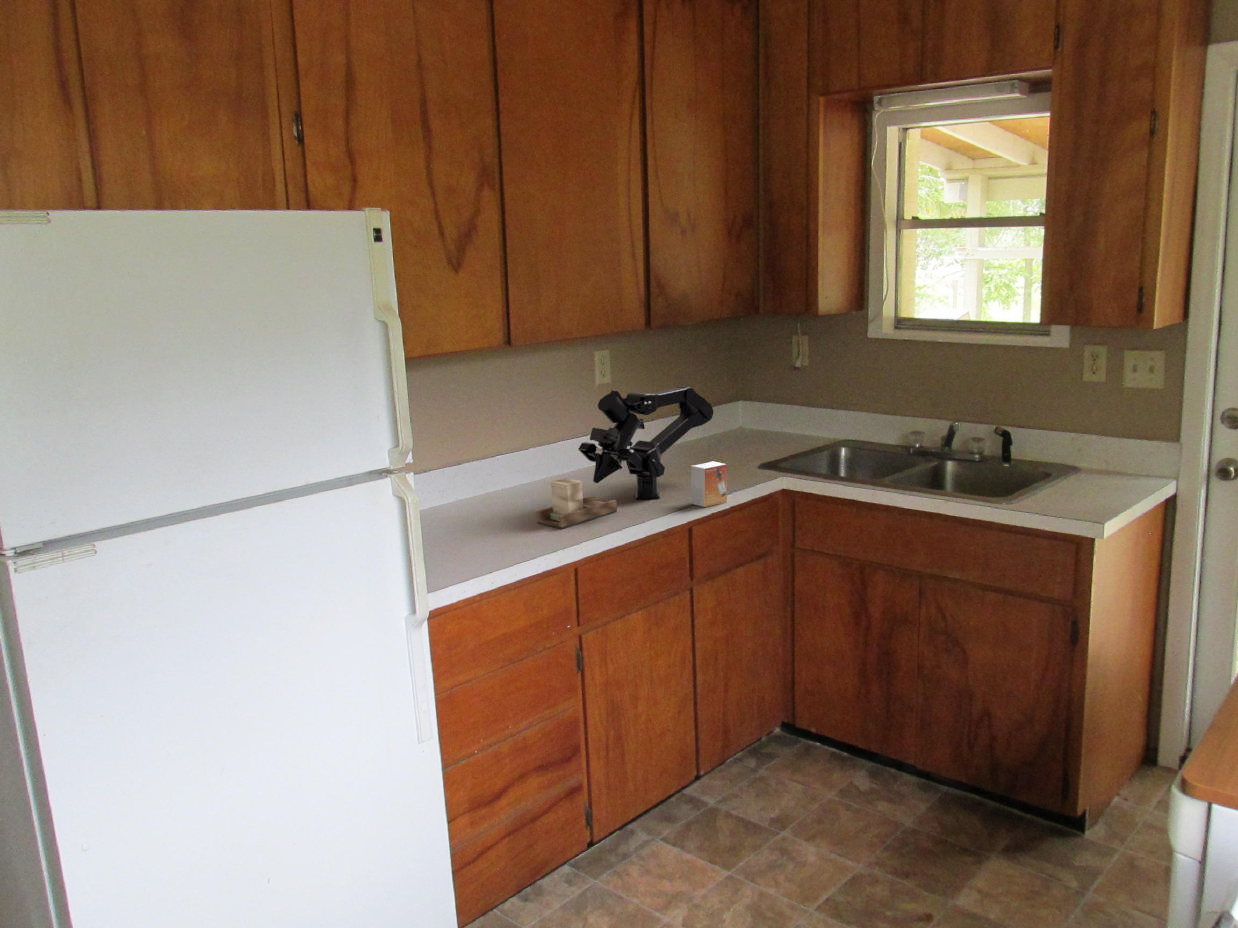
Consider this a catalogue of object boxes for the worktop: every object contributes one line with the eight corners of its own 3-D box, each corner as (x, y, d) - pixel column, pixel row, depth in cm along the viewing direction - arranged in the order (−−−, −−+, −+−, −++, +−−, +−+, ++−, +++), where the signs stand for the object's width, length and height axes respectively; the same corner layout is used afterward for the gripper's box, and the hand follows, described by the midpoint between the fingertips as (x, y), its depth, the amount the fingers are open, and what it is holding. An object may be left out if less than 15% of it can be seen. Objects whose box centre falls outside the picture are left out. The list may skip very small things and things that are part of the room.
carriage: (567, 508, 267) (565, 478, 265) (583, 511, 263) (581, 481, 261) (552, 512, 263) (551, 481, 262) (569, 516, 259) (567, 485, 258)
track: (592, 507, 276) (592, 495, 275) (616, 512, 270) (616, 500, 269) (537, 523, 262) (537, 511, 262) (562, 529, 256) (561, 516, 255)
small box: (704, 508, 270) (703, 468, 268) (691, 504, 275) (690, 465, 272) (727, 502, 275) (727, 463, 273) (713, 498, 279) (713, 460, 277)
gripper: (581, 412, 275) (553, 460, 270) (632, 418, 262) (603, 469, 257) (603, 436, 283) (576, 483, 277) (654, 443, 270) (627, 493, 264)
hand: (595, 482), depth 269 cm, fingers closed
